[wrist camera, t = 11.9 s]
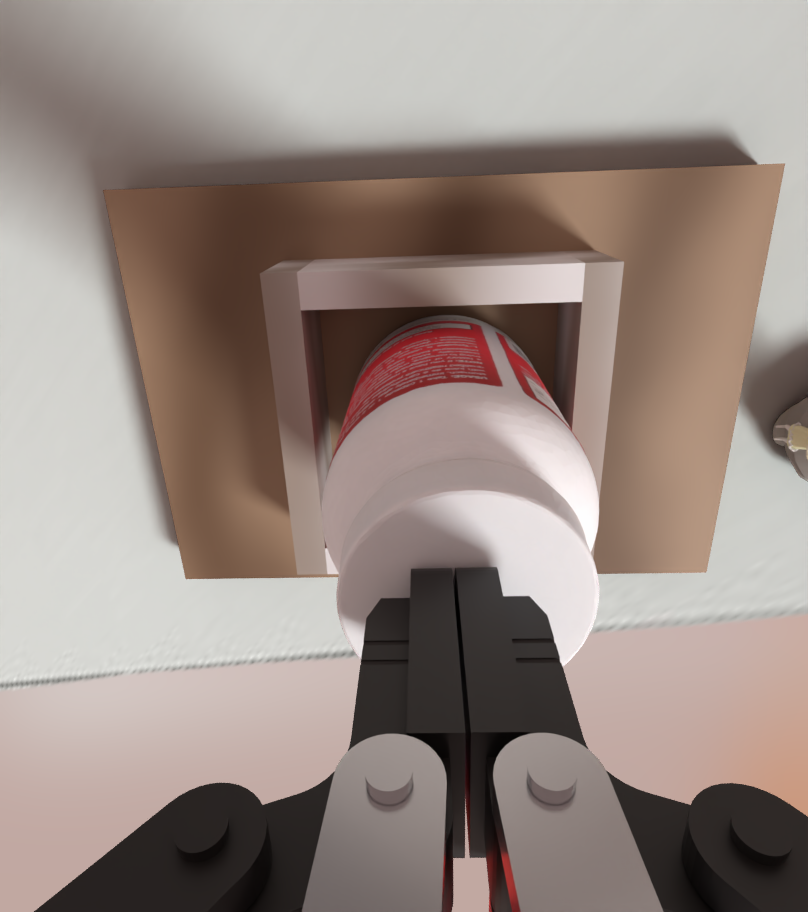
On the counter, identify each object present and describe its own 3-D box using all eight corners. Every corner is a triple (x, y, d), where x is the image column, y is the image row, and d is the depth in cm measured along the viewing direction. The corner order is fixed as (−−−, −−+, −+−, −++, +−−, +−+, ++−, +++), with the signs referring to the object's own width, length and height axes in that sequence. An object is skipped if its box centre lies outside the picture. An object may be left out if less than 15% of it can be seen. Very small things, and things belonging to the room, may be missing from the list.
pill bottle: (328, 443, 22) (245, 670, 12) (398, 278, 19) (371, 384, 9) (487, 508, 23) (538, 772, 13) (572, 358, 20) (720, 534, 10)
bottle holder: (759, 165, 19) (851, 160, 15) (690, 550, 25) (743, 624, 21) (125, 189, 20) (47, 191, 16) (198, 557, 26) (155, 629, 22)
